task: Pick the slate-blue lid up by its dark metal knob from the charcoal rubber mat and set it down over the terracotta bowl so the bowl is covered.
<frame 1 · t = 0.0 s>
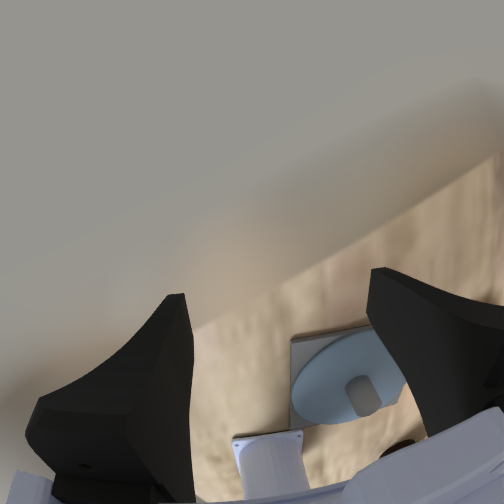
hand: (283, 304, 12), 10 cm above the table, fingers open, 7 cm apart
mat: (353, 377, 28), on the table
lid: (355, 380, 28), resting on mat
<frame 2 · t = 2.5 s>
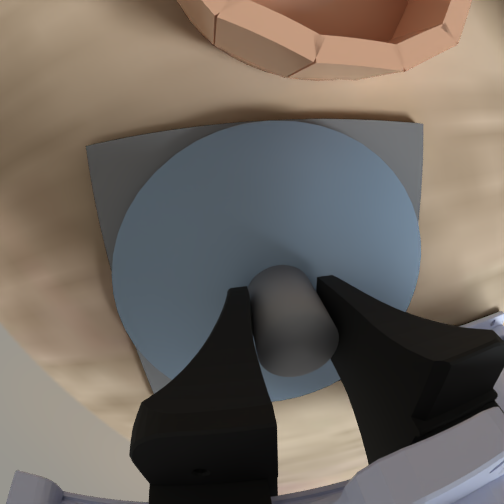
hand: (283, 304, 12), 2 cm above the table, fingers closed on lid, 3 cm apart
mat: (274, 281, 13), on the table
lid: (276, 287, 13), resting on mat, touching gripper
when the fingers open (7 cm above the table, at t = 5.3 s): lid drops 2 cm, resting on bowl.
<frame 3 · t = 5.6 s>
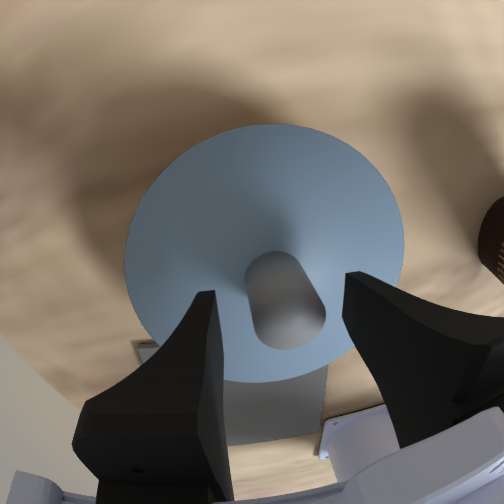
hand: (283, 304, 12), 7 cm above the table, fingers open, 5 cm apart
coffee mug: (493, 248, 21), on the table
mat: (242, 397, 23), on the table
lid: (271, 272, 14), point 4 cm above the table, touching bowl
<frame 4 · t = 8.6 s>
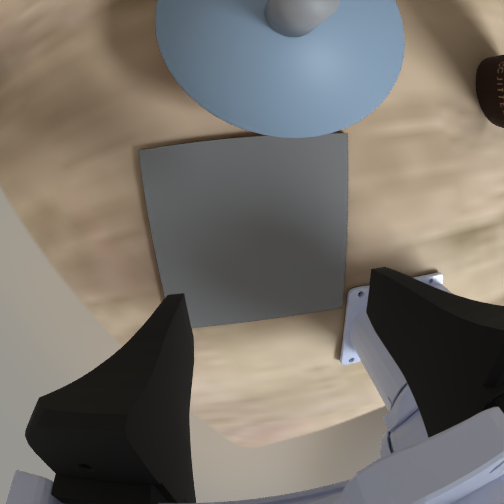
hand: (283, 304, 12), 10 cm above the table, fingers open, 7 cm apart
coffee mug: (493, 106, 19), on the table
mat: (252, 235, 21), on the table
lid: (288, 18, 12), point 4 cm above the table, touching bowl
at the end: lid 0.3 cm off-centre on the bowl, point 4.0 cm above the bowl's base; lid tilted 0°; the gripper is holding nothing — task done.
